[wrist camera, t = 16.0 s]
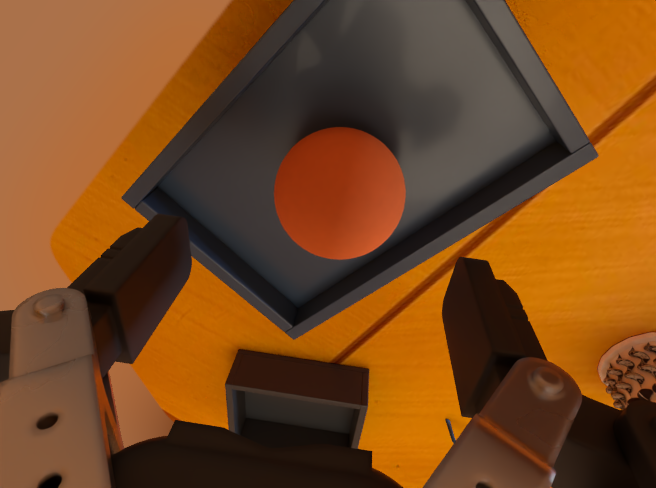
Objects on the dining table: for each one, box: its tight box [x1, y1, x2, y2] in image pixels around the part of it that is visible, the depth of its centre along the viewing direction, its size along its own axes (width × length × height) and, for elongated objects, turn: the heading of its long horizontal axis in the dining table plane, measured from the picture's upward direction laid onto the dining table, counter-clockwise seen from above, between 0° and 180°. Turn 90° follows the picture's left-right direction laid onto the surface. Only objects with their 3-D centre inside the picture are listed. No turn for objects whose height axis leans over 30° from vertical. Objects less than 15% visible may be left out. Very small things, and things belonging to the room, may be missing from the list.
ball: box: [274, 127, 406, 260], centre depth 15 cm, size 5×5×5 cm
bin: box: [225, 349, 369, 449], centre depth 45 cm, size 14×12×5 cm
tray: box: [122, 0, 598, 339], centre depth 17 cm, size 16×11×2 cm
